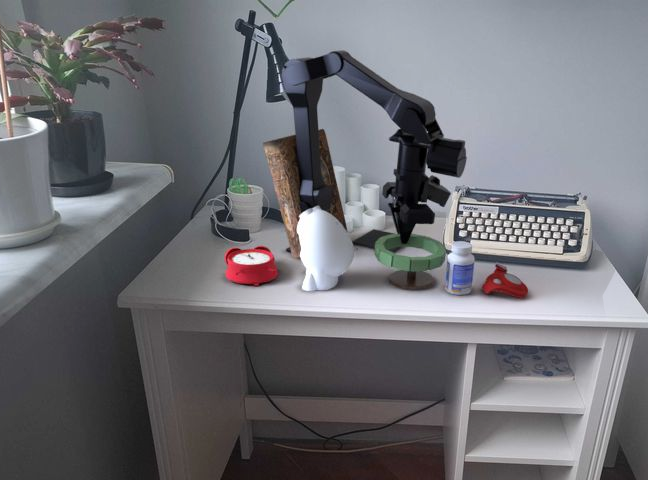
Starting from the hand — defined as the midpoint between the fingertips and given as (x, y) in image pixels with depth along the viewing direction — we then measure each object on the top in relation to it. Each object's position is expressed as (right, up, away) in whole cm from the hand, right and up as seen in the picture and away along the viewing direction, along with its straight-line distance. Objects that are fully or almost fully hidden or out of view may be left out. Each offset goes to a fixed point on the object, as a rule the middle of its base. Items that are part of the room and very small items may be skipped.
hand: (403, 242), depth 133 cm
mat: (-5, +3, +18) cm, 19 cm away
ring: (+1, -4, -5) cm, 6 cm away
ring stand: (+2, -8, -2) cm, 9 cm away
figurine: (-16, -9, -4) cm, 18 cm away
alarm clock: (-31, -7, -2) cm, 32 cm away
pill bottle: (+11, -11, -5) cm, 16 cm away
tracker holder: (+21, -10, -3) cm, 23 cm away
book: (-19, 0, +12) cm, 23 cm away
